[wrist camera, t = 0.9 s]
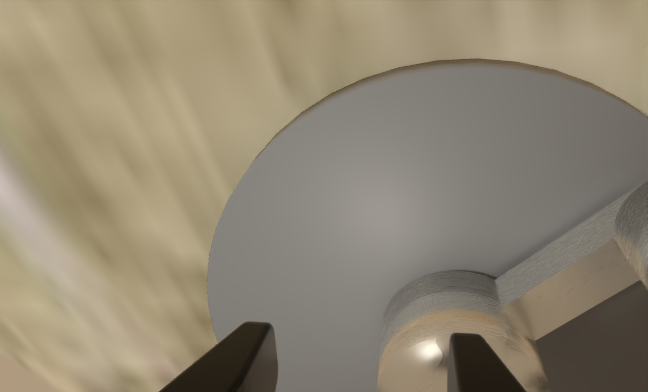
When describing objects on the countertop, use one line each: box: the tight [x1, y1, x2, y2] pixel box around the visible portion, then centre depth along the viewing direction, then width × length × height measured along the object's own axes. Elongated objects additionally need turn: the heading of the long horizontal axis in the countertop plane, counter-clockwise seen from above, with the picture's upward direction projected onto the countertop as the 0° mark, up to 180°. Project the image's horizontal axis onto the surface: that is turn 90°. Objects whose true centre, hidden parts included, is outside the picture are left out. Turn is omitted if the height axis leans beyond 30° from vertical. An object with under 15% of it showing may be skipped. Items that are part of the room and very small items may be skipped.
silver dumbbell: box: [377, 182, 648, 392], centre depth 15 cm, size 12×5×5 cm, turn 136°
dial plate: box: [207, 59, 648, 392], centre depth 20 cm, size 18×18×2 cm
